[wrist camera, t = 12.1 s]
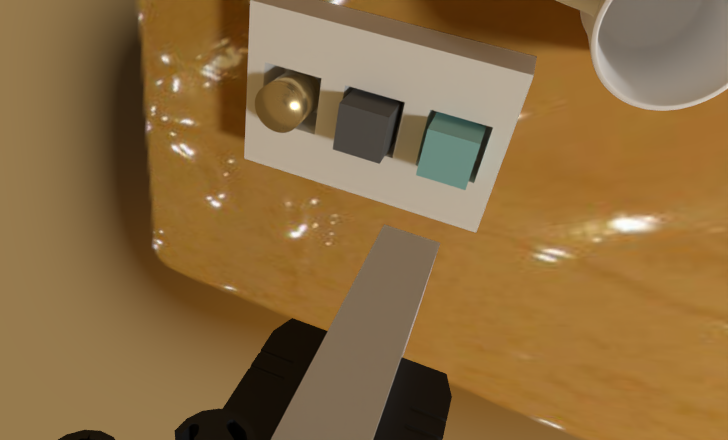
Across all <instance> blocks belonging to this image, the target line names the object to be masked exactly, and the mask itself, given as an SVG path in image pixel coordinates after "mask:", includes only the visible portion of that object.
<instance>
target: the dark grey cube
mask: <svg viewBox="0 0 728 440" xmlns="http://www.w3.org/2000/svg"><path fill="white" fill-rule="evenodd" d="M402 105H403V102H402V101H399V100H395V99H392V98H388V97H385V96H381V95H378V94H374V93H371V92H367V91H364V90H360V89H357V88H354V89H353V90H352V91H351V92H350V93H349V94H348V95H347V96H346V97H345V98H344V99H343V100H342V101H341V102H340V103H339V109H338V116H337V123H336V129H335V136H334V143H333V150H336V151H340V152H343V153H346V154H349V155H352V156H356V157H359V158H362V159H365V160H369V161H372V162H375V163H378V164H380V162H381V161H382V159H383V158H384V156H385V155H386V153H387V152H388V150H389V149H390V147H391V146H392V144H393V143H394V140H395V136H396V132H397V127H398V123H399V118H400V114H401V109H402Z"/></svg>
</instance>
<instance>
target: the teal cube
mask: <svg viewBox="0 0 728 440" xmlns="http://www.w3.org/2000/svg"><path fill="white" fill-rule="evenodd" d="M485 129H486V125H483V124H479V123H476V122H472V121H469V120H465V119H462V118H458V117H455V116H451V115H448V114H444V113H441V112H437V113H436V115H435V117H434V119H433V120H432V122H431V124H430V126H429V128H428V130H427V134H426V138H425V141H424V145H423V149H422V153H421V157H420V161H419V164H418V168H417V172H416V175H417V176H421V177H424V178H427V179H430V180H434V181H437V182H440V183H443V184H447V185H450V186H453V187H456V188H460V189H463V190H466V187H467V184H468V181H469V178H470V175H471V172H472V169H473V166H474V163H475V160H476V157H477V154H478V151H479V148H480V145H481V142H482V139H483V135H484V132H485Z"/></svg>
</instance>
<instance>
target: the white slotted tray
mask: <svg viewBox="0 0 728 440" xmlns="http://www.w3.org/2000/svg"><path fill="white" fill-rule="evenodd" d="M536 58H537V57H536V56H532V55H528V54H524V53H520V52H517V51H513V50H509V49H505V48H501V47H497V46H494V45H490V44H486V43H482V42H478V41H474V40H470V39H467V38H463V37H459V36H455V35H451V34H447V33H444V32H440V31H436V30H432V29H428V28H424V27H421V26H417V25H413V24H409V23H405V22H401V21H397V20H394V19H390V18H386V17H382V16H378V15H374V14H371V13H367V12H363V11H359V10H355V9H351V8H348V7H344V6H340V5H336V4H332V3H328V2H324V1H321V0H250V18H249V45H248V72H247V99H246V126H245V153H244V158H245V159H248V160H251V161H254V162H257V163H260V164H263V165H267V166H270V167H273V168H276V169H279V170H282V171H285V172H288V173H291V174H295V175H298V176H301V177H304V178H307V179H310V180H313V181H316V182H320V183H323V184H326V185H329V186H332V187H335V188H338V189H341V190H344V191H348V192H351V193H354V194H357V195H360V196H363V197H366V198H369V199H373V200H376V201H379V202H382V203H385V204H388V205H391V206H394V207H397V208H401V209H404V210H407V211H410V212H413V213H416V214H419V215H422V216H426V217H429V218H432V219H435V220H438V221H441V222H444V223H447V224H450V225H454V226H457V227H460V228H463V229H466V230H469V231H472V232H475V233H476V232H477V229H478V226H479V224H480V221H481V218H482V215H483V213H484V210H485V207H486V204H487V202H488V199H489V196H490V194H491V191H492V188H493V185H494V183H495V180H496V177H497V174H498V172H499V169H500V166H501V164H502V161H503V158H504V155H505V153H506V150H507V147H508V144H509V142H510V139H511V136H512V134H513V131H514V128H515V125H516V123H517V120H518V117H519V115H520V112H521V109H522V106H523V104H524V101H525V98H526V95H527V93H528V90H529V87H530V85H531V82H532V79H533V76H534V71H535V64H536ZM288 70H294V71H297V72H301V73H304V74H308V75H311V76H314V77H315V78H316V79H317V81H318V82H319V84H320V95H319V103H318V108H317V109H316V110H314V111H313V112H312V113H311V114H310V115H309V116H308V117H307V118H306V119H305V120H303V121H302V122H301V123H300V124H299V125H298V126H297V127H296V128H295V129H293V130H292V131H290V132H286V133H278V132H275V131H272V130H270V129H269V128H267V127H266V126H265V125H264V124H263V123H262V122H261V121H260V119H259V117H258V115H257V113H256V110H255V98H256V95H257V93H258V91H259V90H260V89H261V88H263V87H264V86H266V85H267V84H268V83H270V82H271V81H273V80H274V79H276V78H277V77H279V76H280V75H282V74H283V73H285V72H286V71H288ZM354 88H357V89H360V90H364V91H367V92H371V93H374V94H378V95H381V96H385V97H388V98H392V99H395V100H399V101H402V102H403V105H402V109H401V114H400V118H399V123H398V127H397V132H396V136H395V140H394V143H393V144H392V146H391V147H390V149H389V150H388V152H387V153H386V155H385V156H384V158H383V159H382V161H381V162H380V164H378V163H375V162H372V161H369V160H365V159H362V158H359V157H356V156H352V155H349V154H346V153H343V152H340V151H336V150H333V143H334V136H335V129H336V123H337V116H338V109H339V103H340V102H341V101H342V100H343V99H344V98H345V97H346V96H347V95H348V94H349V93H350V92H351V91H352V90H353V89H354ZM437 112H441V113H444V114H448V115H451V116H455V117H458V118H462V119H465V120H469V121H472V122H476V123H479V124H483V125H486V129H485V132H484V135H483V139H482V142H481V145H480V148H479V151H478V154H477V157H476V160H475V163H474V166H473V169H472V172H471V175H470V178H469V181H468V184H467V187H466V190H463V189H460V188H456V187H453V186H450V185H447V184H443V183H440V182H437V181H434V180H430V179H427V178H424V177H421V176H417V175H416V172H417V168H418V164H419V161H420V157H421V153H422V149H423V145H424V141H425V138H426V134H427V130H428V128H429V126H430V124H431V122H432V120H433V119H434V117H435V115H436V113H437Z"/></svg>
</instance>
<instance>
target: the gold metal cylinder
mask: <svg viewBox="0 0 728 440" xmlns="http://www.w3.org/2000/svg"><path fill="white" fill-rule="evenodd" d="M319 95H320V84H319V82H318V81H317V79H316V78H315V77H314V76H311V75H308V74H304V73H301V72H297V71H294V70H288V71H286V72H285V73H283V74H282V75H280V76H279V77H277V78H276V79H274V80H273V81H271V82H270V83H268V84H267V85H266V86H264V87H263V88H261V89H260V90H259V91H258V93H257V95H256V98H255V110H256V113H257V115H258V117H259V119H260V121H261V122H262V123H263V124H264V125H265V126H266V127H267V128H269V129H270V130H272V131H275V132H278V133H286V132H290V131H292V130H293V129H295V128H296V127H297V126H298V125H299V124H300V123H301V122H302V121H303V120H305V119H306V118H307V117H308V116H309V115H310V114H311V113H312V112H313V111H314V110H316V109H317V108H318V103H319Z"/></svg>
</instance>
